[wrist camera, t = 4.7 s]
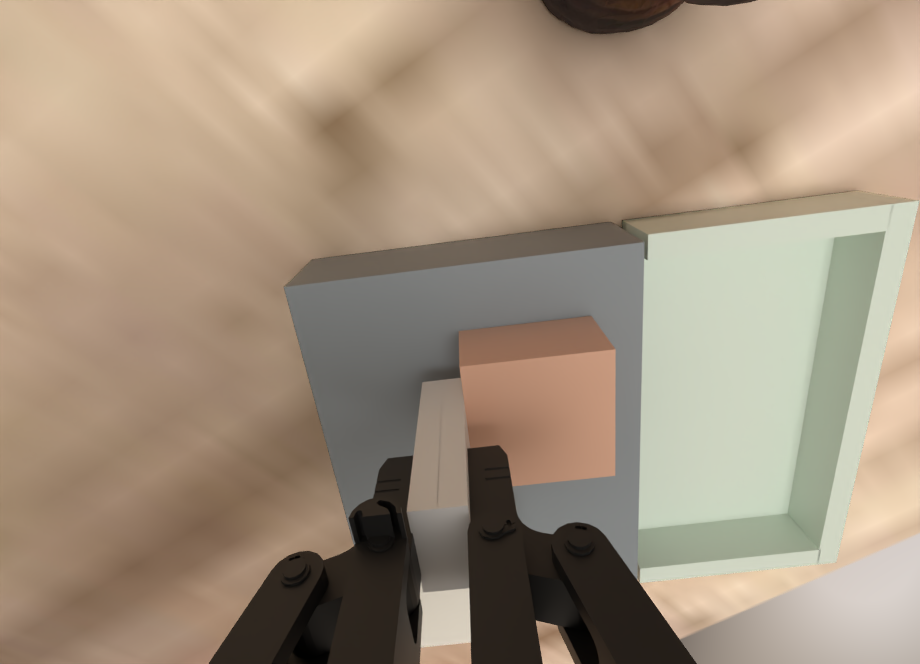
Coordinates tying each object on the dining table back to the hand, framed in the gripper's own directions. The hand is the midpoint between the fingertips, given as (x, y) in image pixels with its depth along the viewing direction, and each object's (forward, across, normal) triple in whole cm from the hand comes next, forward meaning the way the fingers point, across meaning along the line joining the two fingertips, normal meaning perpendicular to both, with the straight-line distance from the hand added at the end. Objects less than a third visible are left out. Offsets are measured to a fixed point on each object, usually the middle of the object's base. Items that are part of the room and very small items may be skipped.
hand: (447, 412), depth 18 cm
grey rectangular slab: (+6, +1, -4) cm, 7 cm away
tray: (+6, +13, -4) cm, 14 cm away
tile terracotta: (+2, +3, 0) cm, 4 cm away
